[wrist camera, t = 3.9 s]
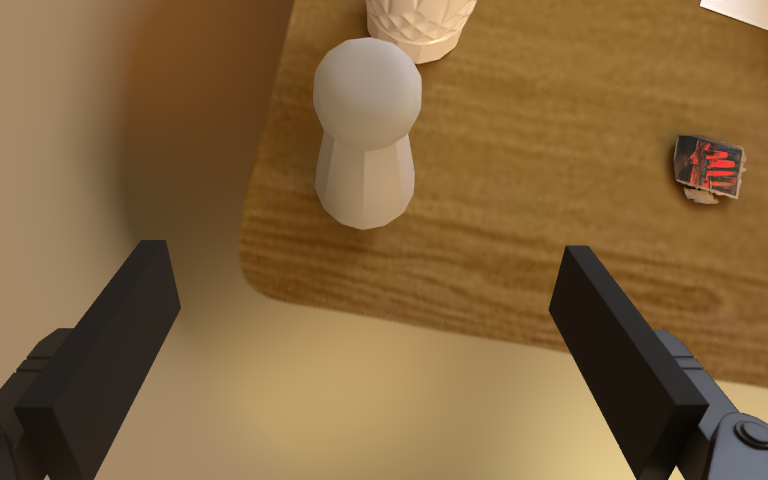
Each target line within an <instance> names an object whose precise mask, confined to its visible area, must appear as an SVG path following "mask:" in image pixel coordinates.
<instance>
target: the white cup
mask: <svg viewBox="0 0 768 480" xmlns="http://www.w3.org/2000/svg"><path fill="white" fill-rule="evenodd" d="M476 1H477V0H366V10H367V29H368V32H369V34H370V35H371V37H372V38H375V39H379V40H383V41H387V42H391V43H394V44H395V45H396V46H397V47H399V48H400V49H401V50H402V51H404V52H405V53H406V54H407V55H409V56H410V57H411V58H412V60H413V62H414V64H421V63H426V62H430V61H435V60H439V59H440V58H442V57H443V56H444V55H446V54H447V53H448V52H449V51H451V50H452V49H453V48H455V46H456V44H457V42H458V40H459V38H460V35H461V33H462V31H463V28H464V26H465V23H466V21H467V19H468V17H469V16H470V14H471V13H472V11H473V8H474V6H475V3H476Z"/></svg>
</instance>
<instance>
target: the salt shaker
mask: <svg viewBox="0 0 768 480" xmlns="http://www.w3.org/2000/svg"><path fill="white" fill-rule="evenodd" d="M421 95H422V82H421V76H420V74H419V72H418V70H417V68H416V66H415V64H414V62H413V60H412V58H411V57H410V56H409V55H407V54H406V53H405V52H404V51H402V50H401V49H400V48H399V47H397V46H396V45H395V44H394V43H391V42H387V41H383V40H379V39H375V38H371V37H369V38H361V39H352V40H346V41H345V42H343V43H342V44H340V45H338V46H337V47H335V48H333V49H332V50H330V51H329V52H327V54H326V55H325V57H324V58H323V60H322V61H321V63H320V64H319V66H318V67H317V69H316V70H315V77H314V89H313V105H314V108H315V111H316V113H317V116H318V118H319V120H320V123H321V125H322V127H323V130H324V134H323V139H322V143H321V148H320V152H319V157H318V161H317V166H316V177H315V190H316V192H317V195H318V197H319V199H320V202H321V204H322V207H323V209H324V210H325V211H326V212H328V213H329V214H330V215H331V216H332V217H333V218H335V219H336V220H337V221H338V222H339V223H341V224H343V225H347V226H350V227H354V228H357V229H361V230H365V229H371V228H376V227H381V226H385V225H386V224H388V223H389V222H391V221H392V220H394V219H395V218H397V217H398V216H400V215H401V214H402V213H404V211H405V209H406V207H407V205H408V203H409V201H410V199H411V197H412V195H413V193H414V175H415V172H414V166H413V160H412V154H411V149H410V143H409V137H408V133H409V131H410V129H411V127H412V126H413V124H414V122H415V120H416V118H417V117H418V114H419V112H420V109H421Z"/></svg>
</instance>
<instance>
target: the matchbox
mask: <svg viewBox="0 0 768 480" xmlns="http://www.w3.org/2000/svg"><path fill="white" fill-rule="evenodd" d="M675 147H676V151H675V152H674V155H675V156H674V169H675V176H676V181H679V182H682V183H684V185H685V184H688V185H689V186H695V188H696V189H698V188H700V189H703V190H704V191H698V190H693V189H690V190H689V189H686V187H684V192H685V194H686V197H687V198H688V199H689V200H690V198H691V199H692V198H693V199H695V200H694V201H693V202H699V203H700V202H702V203H704V204H716V203H718V199H713V198H714V196H713V195H711V193H716V194H718V195H726V196H729V197H731V198H736V199H738V195H739V194H740V193H739V190H740V186H741V182H742V181H741V175H742V174H741V173H743V171H746V168H743V164H745V162H746V161H747V160H746V155H745V154H744V153H745V150H744V149H743V147H742V146H738V145H732V144H728V142H721V141H716V140H711V139H708V138H706V137H704V136H700V135H693V136H680V135H678V140H677V143H676V146H675ZM671 152H672V150H671ZM710 191H711V192H710Z"/></svg>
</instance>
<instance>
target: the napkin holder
mask: <svg viewBox="0 0 768 480" xmlns="http://www.w3.org/2000/svg"><path fill="white" fill-rule="evenodd" d="M700 6H702V7H704V8H707V9H710V10H713V11H716V12H718V13H721V14H724V15H727V16H730V17H732V18H735V19H738V20H741V21H743V22H746V23H749V24H752V25H755V26H757V27H760V28H763V29H766V30H768V0H701V3H700Z"/></svg>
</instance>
